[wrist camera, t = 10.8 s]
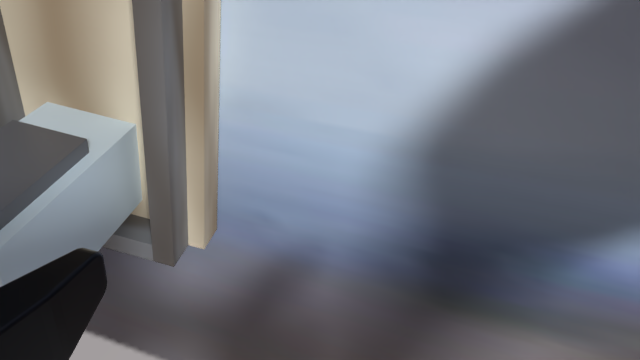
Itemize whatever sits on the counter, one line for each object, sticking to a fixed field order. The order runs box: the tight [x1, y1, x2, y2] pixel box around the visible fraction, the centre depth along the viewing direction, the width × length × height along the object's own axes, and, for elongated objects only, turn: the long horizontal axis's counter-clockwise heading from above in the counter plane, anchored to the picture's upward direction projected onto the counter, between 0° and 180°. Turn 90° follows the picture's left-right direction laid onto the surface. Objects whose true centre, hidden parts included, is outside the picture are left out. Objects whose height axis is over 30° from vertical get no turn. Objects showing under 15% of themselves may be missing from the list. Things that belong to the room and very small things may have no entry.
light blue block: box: [0, 102, 142, 287], centre depth 19 cm, size 5×4×8 cm
